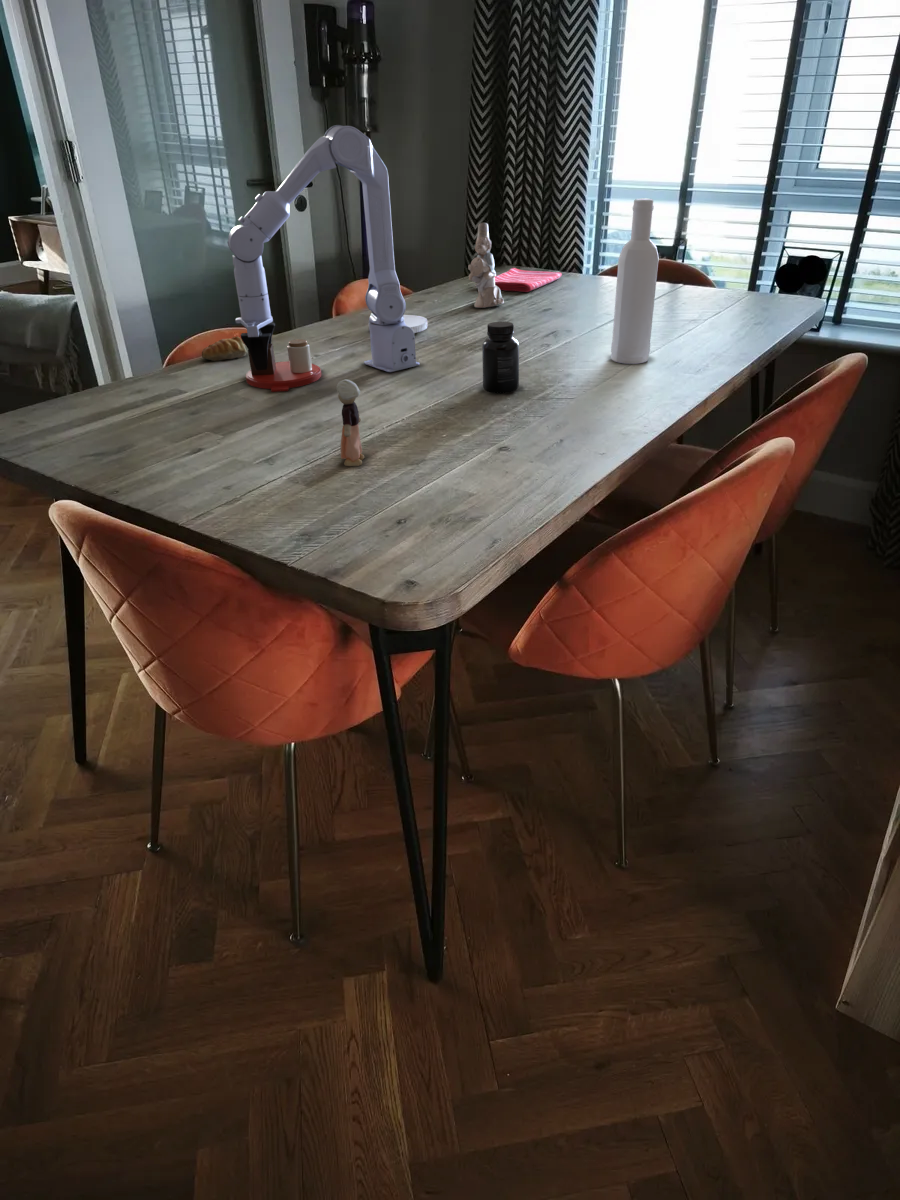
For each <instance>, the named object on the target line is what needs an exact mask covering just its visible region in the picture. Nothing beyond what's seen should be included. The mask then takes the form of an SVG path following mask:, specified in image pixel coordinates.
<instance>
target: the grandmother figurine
mask: <svg viewBox="0 0 900 1200" xmlns="http://www.w3.org/2000/svg"><path fill="white" fill-rule="evenodd" d="M336 392H337V397H338V400H339V402H340V403H341V404H342V409H341V418H342V429H341V436H340V437H341V438H340V450H339V451H340V459H342V460H344V459H345V460H344V463H343V464H344V466H346V467H357V466H358V467H359V466H362V465H363V460H364V459H365V455H364V454H363V447H362V440H361V435H360V425H359V424H360V423H361V422H362V418H361V417H360V413H359V412H360V411H359V408H358V405H357V402H355V401H356V398H359V396H360V394H361V390H360V389H359V387H358V384H356V383H355V382H354V381H352V380H350V379H342V380H340V381H339V382H338V383H337V384H336Z"/></svg>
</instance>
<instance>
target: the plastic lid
mask: <svg viewBox="0 0 900 1200" xmlns="http://www.w3.org/2000/svg"><path fill="white" fill-rule="evenodd" d="M403 316H404V322H405V324H406V325H407V326H408V327H410V328H411V329H412V331H413V333H414V334H416V333H417V334H418V333H421V332H423V331H426V330H427V328H428V319H427V318H426V317H424V316H420V315H416V314H404V315H403ZM367 324H369V321H368V323H367ZM368 331H370V328H369V327H368Z"/></svg>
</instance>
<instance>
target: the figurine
mask: <svg viewBox="0 0 900 1200" xmlns="http://www.w3.org/2000/svg"><path fill="white" fill-rule="evenodd" d="M491 249H492V240H491V239H490V233H489V223H487V222H480V223H478V225H477V236H476V239H475V247H474V251H475V252H476V253H477V255H476V257H474V258H472V260H471V262H470V264H468V268H467V270H469V272H470V273H469V274H468V280H469V281H471V282H474V283H475V284H474V287H475V288H477V290H478V292H477V293H478V294H477V297H476V298H475V302H474V304H473V305H474V308H480V309H481V308H482V309H483V308H491V307H492V308H493V307H495V306H500V305H502V304H504V303H505V300H504V298H503V296H502V293H501V290H500V288H499V287H497V286H496V285H495V276H497V272H496V270H495V259H494V254H493V253H491Z"/></svg>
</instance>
